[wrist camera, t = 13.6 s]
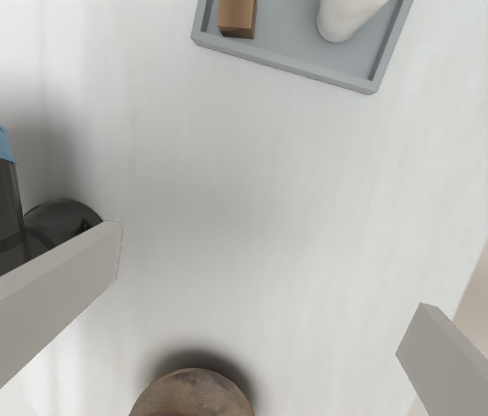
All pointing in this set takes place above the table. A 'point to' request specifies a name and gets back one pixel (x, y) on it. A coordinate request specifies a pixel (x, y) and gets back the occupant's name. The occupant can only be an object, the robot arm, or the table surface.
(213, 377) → the ceramic bowl
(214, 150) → the table surface
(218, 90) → the table surface
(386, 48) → the collection tray
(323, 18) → the drinking glass
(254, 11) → the walnut cube
